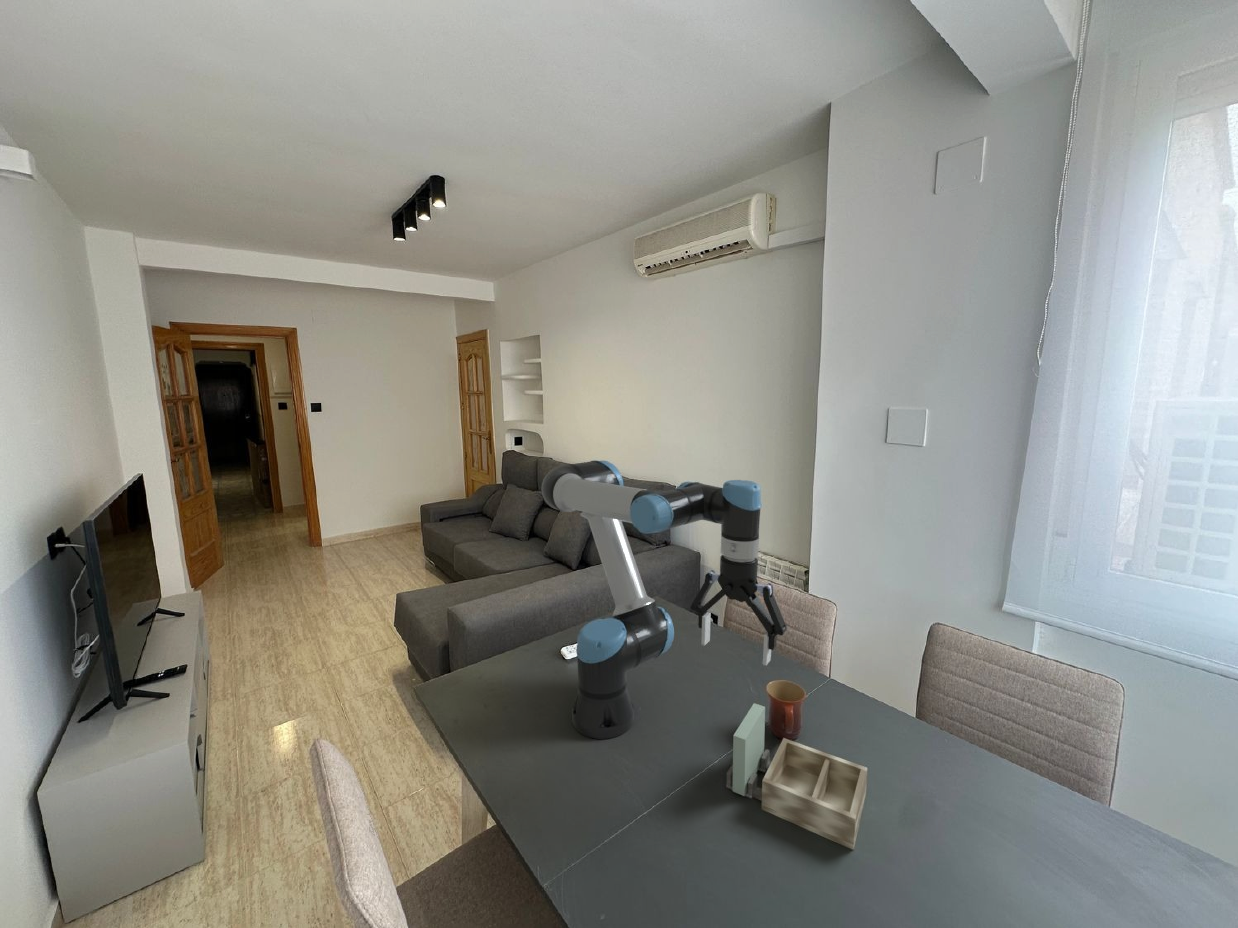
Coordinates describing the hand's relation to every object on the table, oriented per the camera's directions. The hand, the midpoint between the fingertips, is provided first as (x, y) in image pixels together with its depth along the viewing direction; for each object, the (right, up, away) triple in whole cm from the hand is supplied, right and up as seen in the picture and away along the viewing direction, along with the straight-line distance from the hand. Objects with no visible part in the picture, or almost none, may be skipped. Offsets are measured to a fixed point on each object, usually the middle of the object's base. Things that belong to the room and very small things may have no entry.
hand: (735, 652), depth 107 cm
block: (+2, -24, -3) cm, 24 cm away
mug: (+14, -23, +9) cm, 28 cm away
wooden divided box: (+10, -25, -8) cm, 28 cm away
